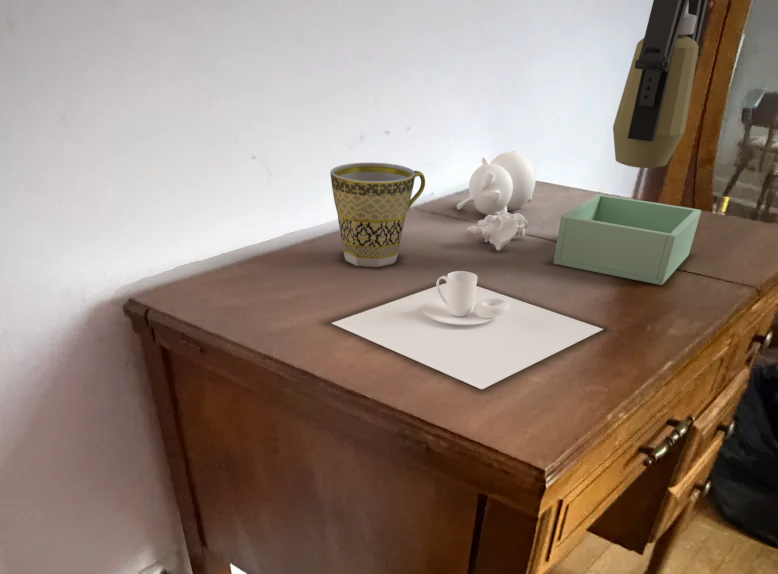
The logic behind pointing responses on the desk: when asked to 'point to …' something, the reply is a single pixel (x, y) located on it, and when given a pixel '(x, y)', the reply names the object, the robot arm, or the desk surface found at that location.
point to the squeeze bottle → (671, 109)
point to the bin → (626, 237)
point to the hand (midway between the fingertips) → (651, 133)
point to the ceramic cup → (373, 209)
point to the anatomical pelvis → (500, 228)
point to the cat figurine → (501, 184)
